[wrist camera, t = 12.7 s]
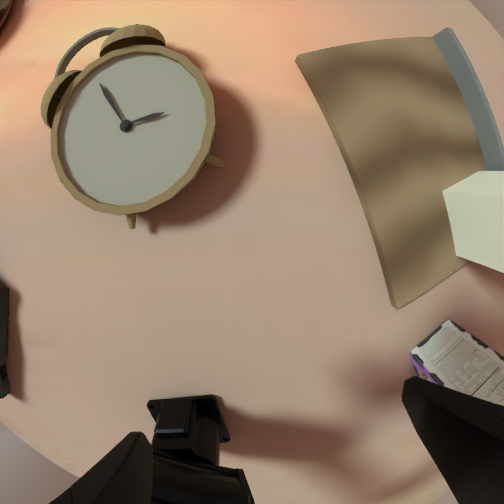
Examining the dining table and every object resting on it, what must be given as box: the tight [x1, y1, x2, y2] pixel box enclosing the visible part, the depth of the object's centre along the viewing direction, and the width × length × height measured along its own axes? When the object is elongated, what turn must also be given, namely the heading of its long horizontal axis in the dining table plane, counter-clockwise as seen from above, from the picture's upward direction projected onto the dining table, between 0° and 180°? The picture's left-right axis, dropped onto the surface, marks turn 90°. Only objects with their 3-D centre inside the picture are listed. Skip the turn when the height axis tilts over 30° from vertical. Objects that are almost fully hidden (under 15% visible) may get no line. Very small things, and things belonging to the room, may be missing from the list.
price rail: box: [432, 28, 504, 171], centre depth 17 cm, size 21×1×4 cm, turn 24°
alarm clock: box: [41, 24, 224, 229], centre depth 15 cm, size 11×5×15 cm
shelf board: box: [295, 37, 487, 309], centre depth 19 cm, size 21×15×1 cm
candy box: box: [410, 319, 504, 406], centre depth 16 cm, size 14×6×16 cm, turn 34°
